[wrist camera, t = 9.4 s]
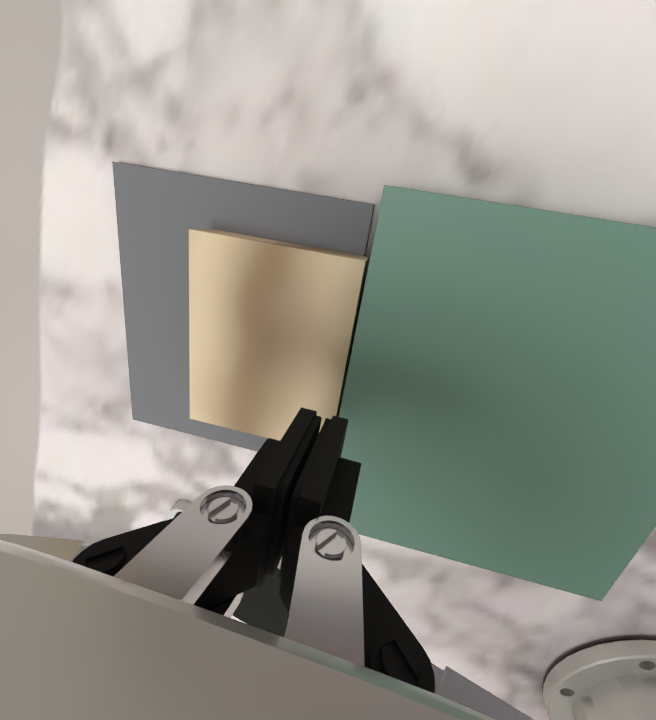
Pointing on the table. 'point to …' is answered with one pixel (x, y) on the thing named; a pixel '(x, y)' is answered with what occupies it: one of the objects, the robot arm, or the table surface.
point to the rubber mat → (171, 271)
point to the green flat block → (506, 388)
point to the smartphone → (255, 596)
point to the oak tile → (268, 329)
